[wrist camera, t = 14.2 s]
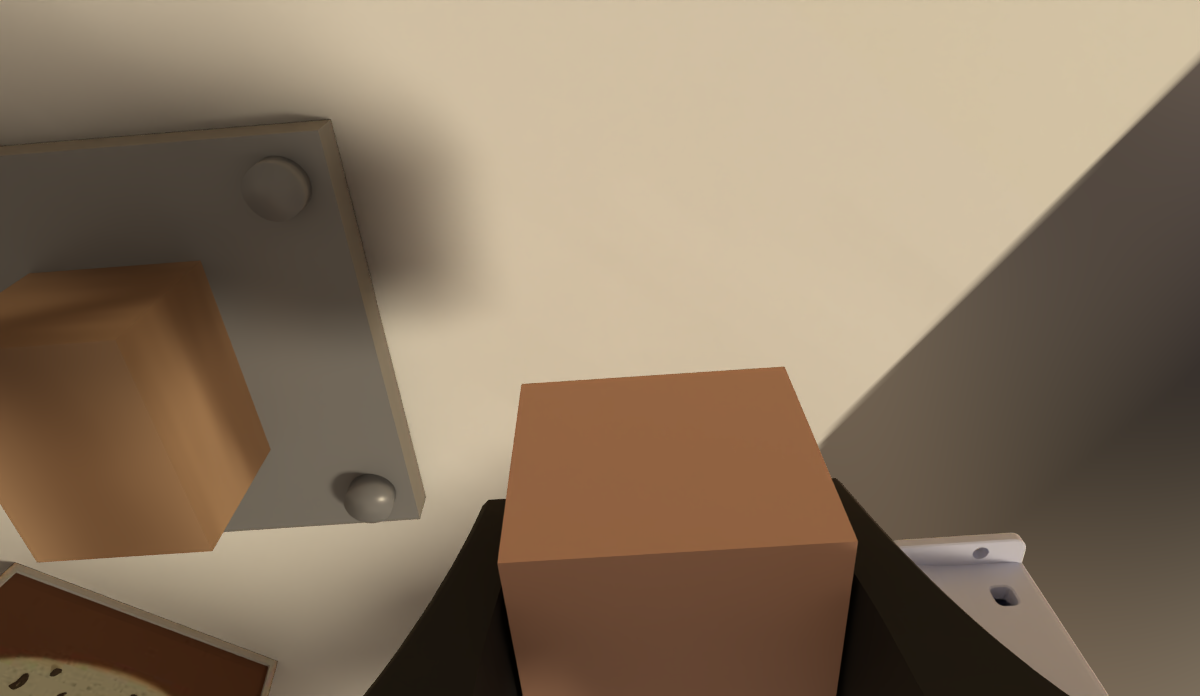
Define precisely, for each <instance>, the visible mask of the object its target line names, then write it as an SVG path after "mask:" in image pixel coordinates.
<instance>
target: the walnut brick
mask: <svg viewBox="0 0 1200 696" xmlns="http://www.w3.org/2000/svg"><path fill="white" fill-rule="evenodd" d="M270 450H271V449H270V446H269V443H268V441H267V438H266V435H265V433H264V430H263V427H262V425H261V422H260V419H259V417H258V414H257V411H256V408H255V406H254V403H253V400H252V398H251V395H250V392H249V390H248V387H247V384H246V382H245V379H244V376H243V373H242V371H241V368H240V365H239V363H238V360H237V357H236V355H235V352H234V349H233V347H232V344H231V341H230V339H229V336H228V333H227V330H226V328H225V325H224V322H223V320H222V317H221V314H220V312H219V309H218V306H217V304H216V301H215V298H214V295H213V293H212V290H211V287H210V285H209V282H208V279H207V277H206V274H205V271H204V269H203V266H202V263H201V261H187V262H174V263H161V264H147V265H134V266H121V267H107V268H94V269H81V270H68V271H54V272H41V273H29V274H27V275H26V276H24V277H23V278H21V279H20V280H18V281H17V282H15V283H14V284H12V285H11V286H9V287H8V288H6V289H5V290H3V291H2V292H1V293H0V504H1V506H2V507H3V509H4V510H5V512H6V514H7V515H8V517H9V518H10V520H11V522H12V523H13V525H14V526H15V528H16V530H17V531H18V533H19V534H20V536H21V537H22V539H23V541H24V542H25V544H26V545H27V547H28V549H29V550H30V552H31V553H32V555H33V557H34V558H35V560H36V561H37V562H51V561H67V560H82V559H97V558H113V557H128V556H143V555H159V554H174V553H189V552H205V551H213V549H214V547H215V546H216V544H217V542H218V540H219V539H220V537H221V535H222V533H223V532H224V530H225V528H226V526H227V525H228V523H229V521H230V520H231V518H232V516H233V514H234V513H235V511H236V509H237V507H238V506H239V504H240V502H241V500H242V499H243V497H244V495H245V493H246V492H247V490H248V488H249V487H250V485H251V483H252V481H253V480H254V478H255V476H256V474H257V473H258V471H259V469H260V467H261V466H262V464H263V462H264V460H265V459H266V457H267V455H268V454H269V452H270Z"/></svg>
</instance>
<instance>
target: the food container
mask: <svg viewBox="0 0 1200 696" xmlns="http://www.w3.org/2000/svg"><path fill="white" fill-rule="evenodd" d="M277 662H278V661H275V660H273V659H270V658H267V657H265V656H262V655H259V654H257V653H254V652H252V651H249V650H246V649H244V648H241V647H238V646H236V645H233V644H230V643H228V642H225V641H222V640H220V639H217V638H214V637H212V636H209V635H206V634H204V633H201V632H198V631H196V630H193V629H190V628H188V627H185V626H182V625H180V624H177V623H174V622H172V621H169V620H166V619H164V618H161V617H159V616H156V615H153V614H151V613H148V612H145V611H143V610H140V609H137V608H135V607H132V606H129V605H127V604H124V603H121V602H119V601H116V600H113V599H111V598H108V597H105V596H103V595H100V594H97V593H95V592H92V591H89V590H87V589H84V588H81V587H79V586H76V585H74V584H71V583H68V582H66V581H63V580H60V579H58V578H55V577H52V576H50V575H47V574H44V573H42V572H39V571H36V570H34V569H31V568H28V567H26V566H23V565H20V564H18V563H14V564H13V565H12V566H11V567H10V568H8V569H7V570H6V571H5V572H4V573H3V574H2V575H1V576H0V696H268V695H269V691H270V688H271V684H272V680H273V677H274V673H275V670H276V666H277Z"/></svg>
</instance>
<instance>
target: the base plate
mask: <svg viewBox="0 0 1200 696" xmlns="http://www.w3.org/2000/svg"><path fill="white" fill-rule="evenodd" d="M187 261H201V263H202V266H203V269H204V271H205V274H206V277H207V279H208V282H209V285H210V287H211V290H212V293H213V295H214V298H215V301H216V304H217V306H218V309H219V312H220V314H221V317H222V320H223V322H224V325H225V328H226V330H227V333H228V336H229V339H230V341H231V344H232V347H233V349H234V352H235V355H236V357H237V360H238V363H239V365H240V368H241V371H242V373H243V376H244V379H245V382H246V384H247V387H248V390H249V392H250V395H251V398H252V400H253V403H254V406H255V408H256V411H257V414H258V417H259V419H260V422H261V425H262V427H263V430H264V433H265V435H266V438H267V441H268V443H269V446H270V449H271V450H270V452H269V454H268V455H267V457H266V459H265V460H264V462H263V464H262V466H261V467H260V469H259V471H258V473H257V474H256V476H255V478H254V480H253V481H252V483H251V485H250V487H249V488H248V490H247V492H246V493H245V495H244V497H243V499H242V500H241V502H240V504H239V506H238V507H237V509H236V511H235V513H234V514H233V516H232V518H231V520H230V521H229V523H228V525H227V526H226V528H225V530H224V532H230V531H245V530H260V529H275V528H290V527H305V526H320V525H335V524H350V523H378V522H381V521H396V520H411V519H420V517H421V513H422V509H423V506H424V502H425V498H426V496H425V492H424V488H423V484H422V480H421V476H420V472H419V468H418V464H417V460H416V456H415V452H414V448H413V444H412V440H411V436H410V432H409V428H408V424H407V420H406V416H405V412H404V408H403V404H402V400H401V396H400V392H399V388H398V384H397V381H396V377H395V373H394V369H393V365H392V361H391V357H390V353H389V349H388V345H387V341H386V337H385V333H384V329H383V325H382V321H381V317H380V313H379V309H378V305H377V301H376V297H375V293H374V289H373V285H372V281H371V277H370V273H369V269H368V265H367V261H366V258H365V254H364V250H363V246H362V242H361V238H360V234H359V230H358V226H357V222H356V218H355V214H354V210H353V206H352V202H351V198H350V194H349V190H348V186H347V182H346V178H345V174H344V170H343V166H342V162H341V158H340V154H339V150H338V146H337V142H336V138H335V135H334V131H333V127H332V123H331V120H318V121H306V122H294V123H281V124H269V125H256V126H244V127H231V128H219V129H207V130H194V131H182V132H169V133H157V134H145V135H132V136H120V137H107V138H95V139H83V140H70V141H58V142H45V143H33V144H20V145H8V146H0V293H1V292H2V291H3V290H5V289H6V288H8V287H9V286H11V285H12V284H14V283H15V282H17V281H18V280H20V279H21V278H23V277H24V276H26V275H27V274H29V273H41V272H54V271H68V270H81V269H94V268H107V267H121V266H134V265H147V264H161V263H174V262H187Z"/></svg>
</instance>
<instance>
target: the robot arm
mask: <svg viewBox="0 0 1200 696" xmlns="http://www.w3.org/2000/svg"><path fill="white" fill-rule="evenodd" d="M832 481H833V483H834V486H835V488H836V490H837V493H838V495H839V497H840V500H841V502H842V505H843V507H844V509H845V512H846V514H847V516H848V519H849V521H850V524H851V526H852V528H853V531H854V533H855V535H856V538H857V540H858V545H857V552H856V559H855V566H854V573H853V580H852V587H851V594H850V601H849V609H848V616H847V623H846V630H845V637H844V644H843V651H842V658H841V665H840V672H839V679H838V686H837V693H836V696H1109V695H1108V694H1107V692H1106V691H1105V689H1104V687H1103V686H1102V684H1101V683H1100V681H1099V680H1098V678H1097V677H1096V675H1095V674H1094V672H1093V671H1092V669H1091V668H1090V666H1089V665H1088V663H1087V662H1086V660H1085V659H1084V657H1083V655H1082V654H1081V652H1080V651H1079V649H1078V648H1077V646H1076V645H1075V643H1074V642H1073V640H1072V639H1071V637H1070V636H1069V634H1068V632H1067V631H1066V629H1065V628H1064V626H1063V625H1062V623H1061V622H1060V620H1059V619H1058V617H1057V616H1056V614H1055V613H1054V611H1053V610H1052V608H1051V607H1050V605H1049V603H1048V602H1047V600H1046V599H1045V597H1044V596H1043V594H1042V593H1041V591H1040V590H1039V588H1038V587H1037V585H1036V584H1035V582H1034V581H1033V579H1032V577H1031V576H1030V574H1029V573H1028V571H1027V570H1026V568H1025V567H1024V565H1023V564H1022V560H1023V557H1024V553H1025V550H1026V545H1025V543H1024V542H1023V541H1022V539H1021V537H1020V536H1019V535H1018V534H1016V533H996V534H981V535H980V534H979V535H965V536H948V537H934V538H917V539H902V540H892V539H891V538H890V537H889V536H888V535H887V534H886V533H885V532H884V531H883V529H882V528H881V527H880V526H879V525H878V524H877V523H876V522H875V521H874V520H873V518H872V517H871V516H870V515H869V514H868V513H867V512H866V511H865V510H864V508H863V507H862V506H861V505H860V504H859V503H858V502H857V500H856V499H855V498H854V497H853V496H852V495H851V494H850V492H849V491H848V490H847V489H846V488H845V487H844V485H843V484H842V483H841V482H840V481H838V480H837V479H836V478H832ZM505 503H506V499H496V500H488V501H487V502H486V503H485V504H484V505H483V506H482V509H481V511H480V513H479V515H478V517H477V519H476V521H475V523H474V526H473V528H472V530H471V532H470V534H469V536H468V537H467V539H466V541H465V543H464V545H463V547H462V549H461V551H460V552H459V554H458V556H457V558H456V560H455V561H454V563H453V565H452V567H451V568H450V570H449V572H448V574H447V575H446V577H445V579H444V580H443V582H442V584H441V585H440V587H439V589H438V590H437V592H436V594H435V595H434V597H433V599H432V600H431V602H430V603H429V605H428V607H427V608H426V610H425V611H424V613H423V614H422V616H421V617H420V619H419V620H418V622H417V623H416V625H415V626H414V627H413V629H412V630H411V632H410V633H409V635H408V636H407V638H406V639H405V641H404V642H403V644H402V645H401V647H400V648H399V650H398V651H397V652H396V654H395V655H394V656H393V658H392V659H391V661H390V662H389V663H388V665H387V666H386V667H385V669H384V670H383V671H382V673H381V674H380V675H379V677H378V678H377V679H376V680H375V682H374V683H373V684H372V685H371V687H370V688H369V689H368V690H367V692H366V693H365V694H364V695H363V696H523V694H522V688H521V683H520V678H519V673H518V668H517V662H516V657H515V652H514V647H513V642H512V637H511V631H510V626H509V621H508V616H507V611H506V606H505V600H504V595H503V590H502V585H501V580H500V574H499V569H498V564H497V562H498V555H499V548H500V540H501V533H502V525H503V518H504V511H505ZM978 548H979V549H978ZM976 549H977V550H976Z"/></svg>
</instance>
